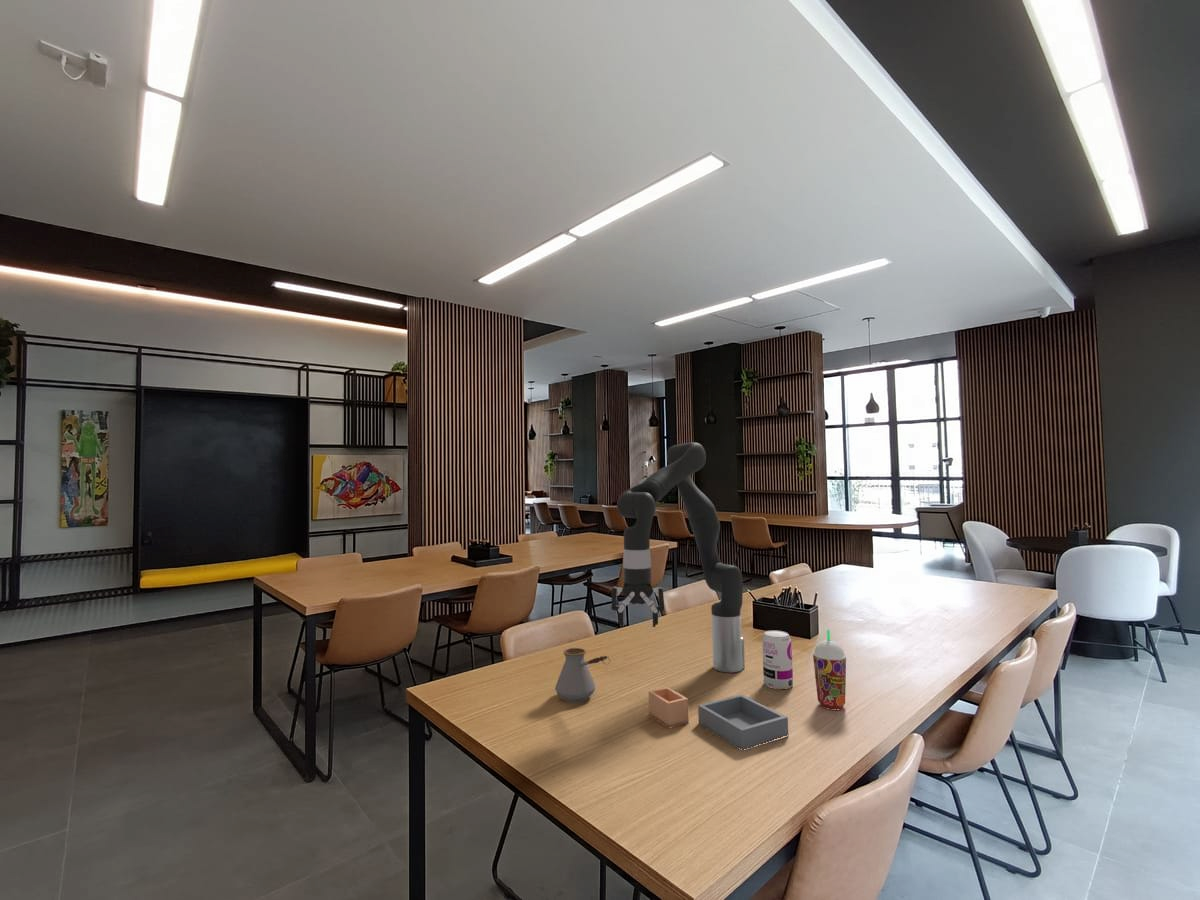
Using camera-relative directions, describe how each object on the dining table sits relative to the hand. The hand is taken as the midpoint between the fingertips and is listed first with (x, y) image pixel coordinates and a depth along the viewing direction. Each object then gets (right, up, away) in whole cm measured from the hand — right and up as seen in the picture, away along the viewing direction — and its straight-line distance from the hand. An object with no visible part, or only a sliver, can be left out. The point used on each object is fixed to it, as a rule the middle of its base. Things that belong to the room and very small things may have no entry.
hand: (638, 626), depth 147 cm
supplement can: (+42, -22, +13) cm, 49 cm away
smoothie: (+51, -21, -2) cm, 55 cm away
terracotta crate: (+7, -21, -8) cm, 24 cm away
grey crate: (+24, -20, -15) cm, 35 cm away
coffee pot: (-14, -23, +3) cm, 27 cm away
